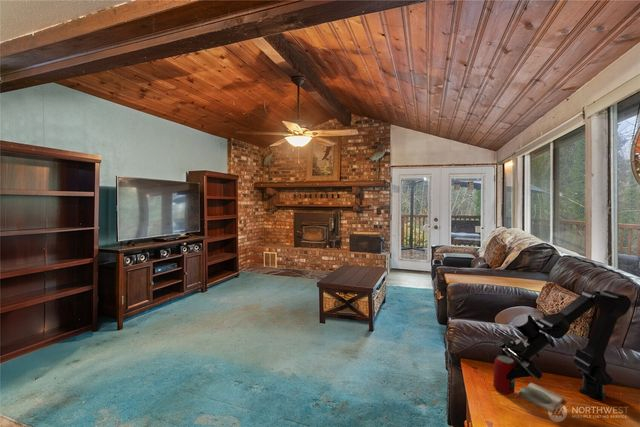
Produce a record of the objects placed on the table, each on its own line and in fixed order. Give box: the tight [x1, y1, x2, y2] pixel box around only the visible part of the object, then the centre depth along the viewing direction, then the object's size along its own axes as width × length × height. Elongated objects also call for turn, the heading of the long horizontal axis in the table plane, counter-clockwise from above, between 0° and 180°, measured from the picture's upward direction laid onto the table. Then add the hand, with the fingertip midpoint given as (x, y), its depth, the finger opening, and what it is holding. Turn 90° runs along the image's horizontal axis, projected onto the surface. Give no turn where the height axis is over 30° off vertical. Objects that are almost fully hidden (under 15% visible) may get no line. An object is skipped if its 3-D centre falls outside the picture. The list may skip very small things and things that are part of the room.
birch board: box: [517, 382, 564, 413], centre depth 105 cm, size 12×10×1 cm
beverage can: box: [492, 354, 516, 395], centre depth 109 cm, size 7×7×12 cm
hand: (500, 372), depth 109 cm, fingers closed on beverage can, 7 cm apart
